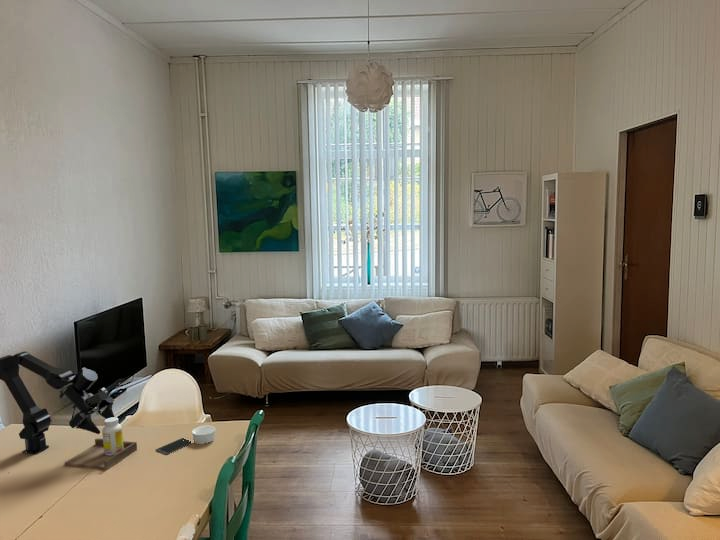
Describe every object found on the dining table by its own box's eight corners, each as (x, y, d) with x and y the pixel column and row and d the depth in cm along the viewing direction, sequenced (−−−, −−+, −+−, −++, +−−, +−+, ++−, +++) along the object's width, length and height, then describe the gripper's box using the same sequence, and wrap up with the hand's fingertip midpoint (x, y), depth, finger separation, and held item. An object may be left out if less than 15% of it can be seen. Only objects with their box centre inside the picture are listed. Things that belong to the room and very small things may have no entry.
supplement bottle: (124, 447, 194) (121, 414, 193) (123, 454, 188) (120, 420, 187) (104, 450, 192) (102, 417, 190) (103, 458, 186) (100, 424, 184)
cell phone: (197, 442, 201) (197, 440, 200) (166, 456, 189) (166, 454, 189) (185, 438, 205) (185, 436, 205) (154, 451, 193) (154, 449, 193)
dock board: (64, 465, 183) (64, 457, 183) (97, 445, 198) (96, 438, 198) (107, 469, 179) (106, 461, 178) (137, 449, 194) (136, 442, 194)
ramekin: (220, 438, 203) (220, 428, 203) (203, 447, 196) (202, 436, 195) (205, 433, 208) (204, 423, 207) (187, 442, 200) (187, 431, 200)
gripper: (74, 392, 179) (104, 424, 179) (108, 376, 198) (135, 405, 197) (56, 412, 182) (85, 444, 181) (91, 394, 200) (118, 423, 199)
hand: (107, 428), depth 189 cm, fingers open, 9 cm apart
